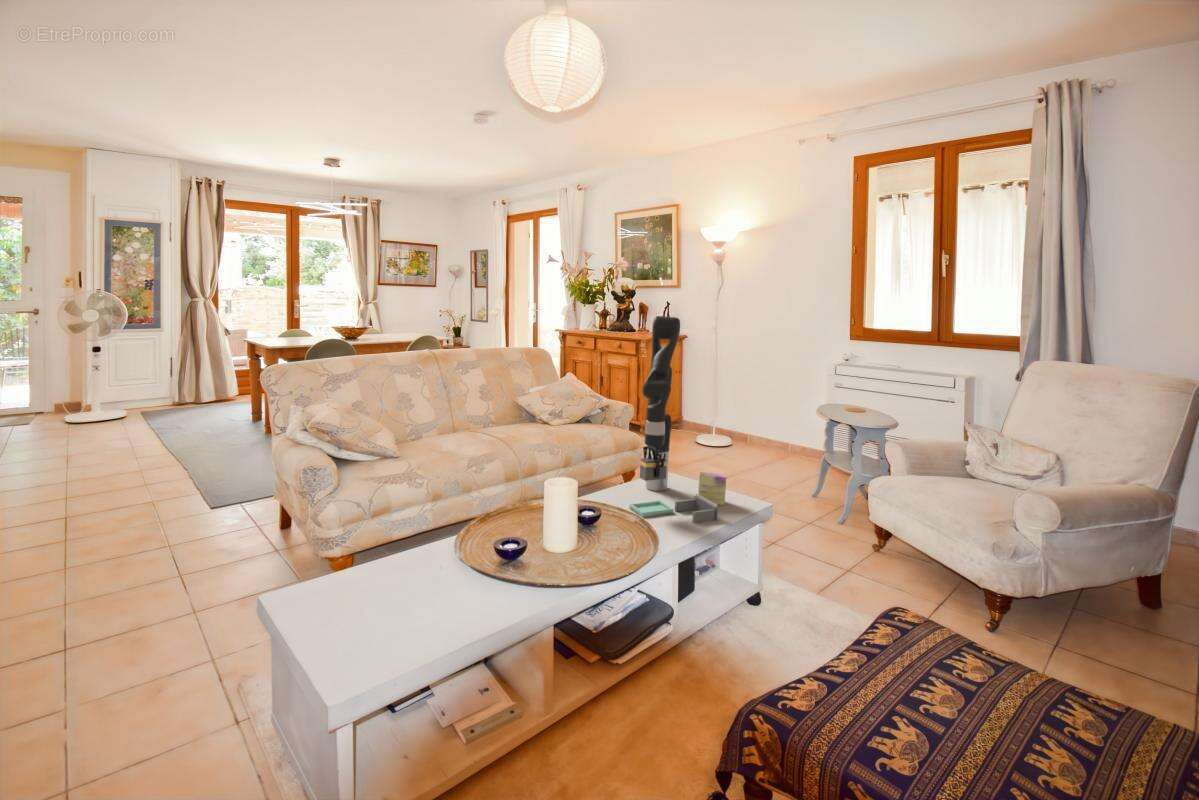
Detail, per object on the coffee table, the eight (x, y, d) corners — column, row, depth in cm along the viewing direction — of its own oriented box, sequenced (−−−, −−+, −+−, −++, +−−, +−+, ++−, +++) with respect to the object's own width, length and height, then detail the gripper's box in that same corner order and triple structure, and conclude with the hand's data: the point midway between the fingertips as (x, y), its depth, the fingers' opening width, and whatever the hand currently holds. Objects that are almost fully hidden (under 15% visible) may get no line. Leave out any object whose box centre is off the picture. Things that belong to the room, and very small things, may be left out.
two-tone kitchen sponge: (660, 475, 232) (660, 456, 231) (666, 478, 228) (666, 459, 227) (639, 477, 228) (640, 458, 227) (645, 480, 224) (646, 461, 223)
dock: (674, 510, 231) (675, 496, 230) (696, 508, 235) (697, 494, 234) (694, 523, 219) (694, 507, 218) (716, 519, 223) (717, 505, 222)
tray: (629, 508, 232) (629, 504, 232) (659, 504, 238) (659, 500, 237) (642, 517, 223) (642, 512, 222) (673, 513, 228) (673, 508, 228)
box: (723, 500, 245) (725, 473, 243) (724, 505, 239) (726, 477, 237) (697, 499, 246) (699, 471, 244) (698, 503, 240) (700, 475, 238)
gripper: (673, 435, 220) (671, 480, 223) (654, 428, 233) (652, 470, 236) (655, 436, 217) (653, 481, 220) (637, 429, 230) (635, 471, 233)
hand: (653, 475), depth 228 cm, fingers closed on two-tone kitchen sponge, 4 cm apart
